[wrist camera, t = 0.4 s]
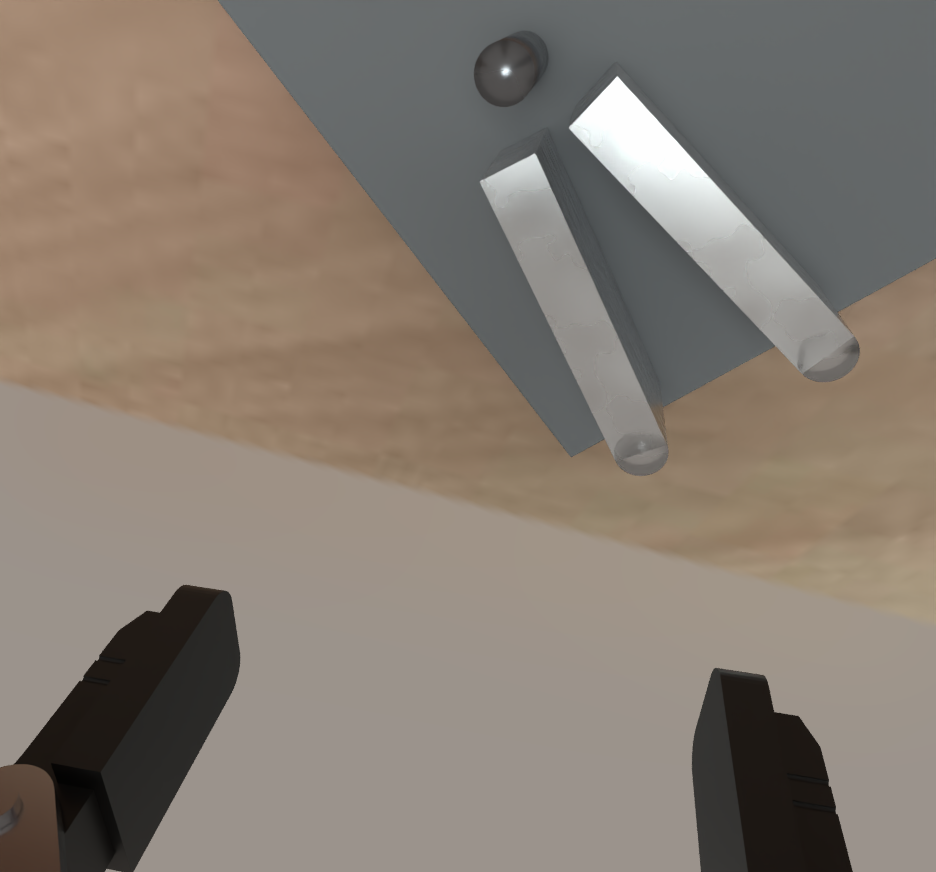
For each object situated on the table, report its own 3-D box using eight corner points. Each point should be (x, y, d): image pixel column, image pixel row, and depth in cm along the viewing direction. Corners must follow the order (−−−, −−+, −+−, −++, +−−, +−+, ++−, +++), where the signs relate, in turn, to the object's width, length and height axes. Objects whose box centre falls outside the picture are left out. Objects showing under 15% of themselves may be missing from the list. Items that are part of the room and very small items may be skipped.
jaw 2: (575, 105, 29) (568, 128, 24) (615, 61, 28) (617, 76, 23) (789, 333, 32) (820, 393, 27) (832, 300, 31) (872, 356, 26)
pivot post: (489, 53, 29) (461, 67, 23) (529, 19, 28) (510, 26, 22) (518, 96, 29) (497, 119, 24) (558, 63, 28) (546, 81, 23)
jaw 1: (500, 151, 30) (479, 181, 25) (547, 126, 29) (535, 153, 25) (623, 415, 35) (626, 482, 30) (666, 399, 34) (676, 465, 29)
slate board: (691, -527, 21) (694, -544, 21) (1024, 199, 29) (1034, 204, 28) (216, -13, 30) (207, -13, 29) (571, 448, 37) (571, 457, 36)
